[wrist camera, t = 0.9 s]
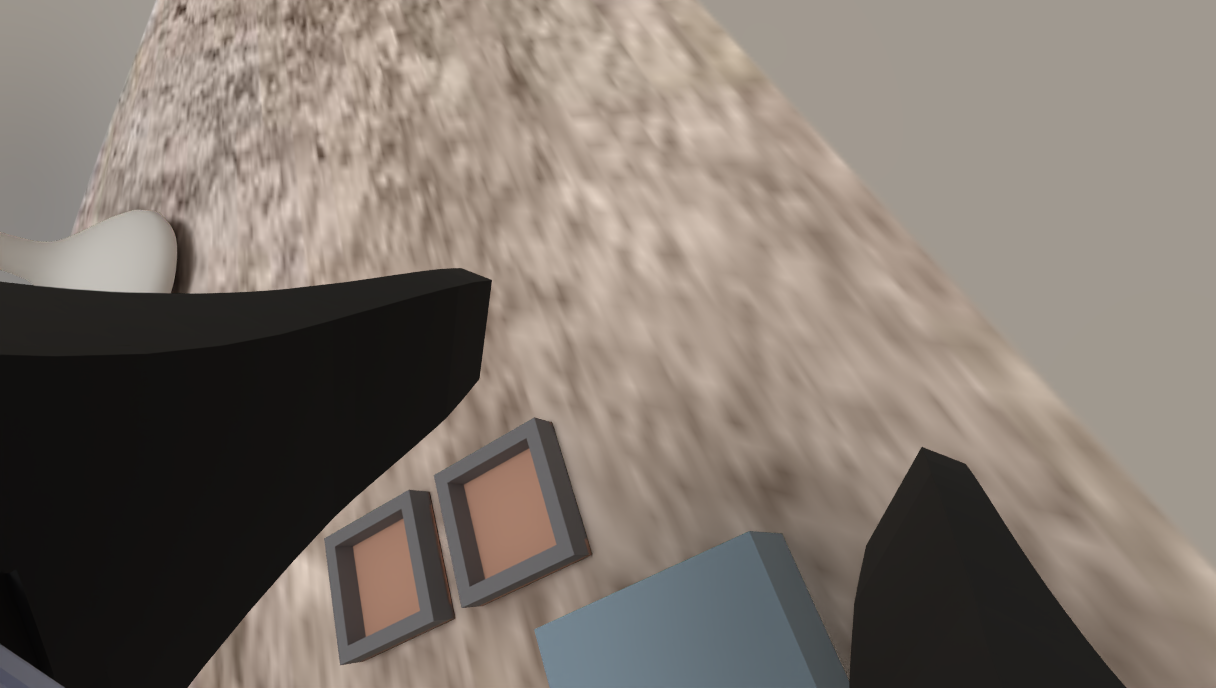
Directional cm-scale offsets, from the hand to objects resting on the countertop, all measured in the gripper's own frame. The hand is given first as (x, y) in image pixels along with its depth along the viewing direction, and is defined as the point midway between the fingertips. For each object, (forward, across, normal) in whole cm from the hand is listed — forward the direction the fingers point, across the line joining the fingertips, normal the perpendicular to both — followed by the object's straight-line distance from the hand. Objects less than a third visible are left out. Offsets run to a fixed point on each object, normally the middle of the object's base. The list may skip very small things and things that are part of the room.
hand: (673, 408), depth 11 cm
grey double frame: (+9, +8, +17) cm, 21 cm away
